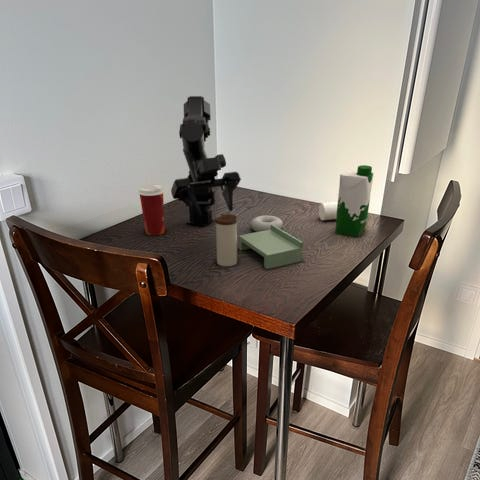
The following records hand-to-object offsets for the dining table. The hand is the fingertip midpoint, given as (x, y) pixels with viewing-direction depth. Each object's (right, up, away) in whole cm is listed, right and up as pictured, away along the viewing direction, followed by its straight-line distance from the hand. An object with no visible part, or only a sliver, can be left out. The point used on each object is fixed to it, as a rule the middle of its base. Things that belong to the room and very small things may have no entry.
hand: (216, 212), depth 130 cm
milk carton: (+41, -1, +21) cm, 46 cm away
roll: (+39, +5, +32) cm, 51 cm away
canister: (+3, -13, +2) cm, 14 cm away
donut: (+15, 0, +23) cm, 28 cm away
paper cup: (-20, -2, +22) cm, 30 cm away
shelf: (+15, -10, +6) cm, 19 cm away
